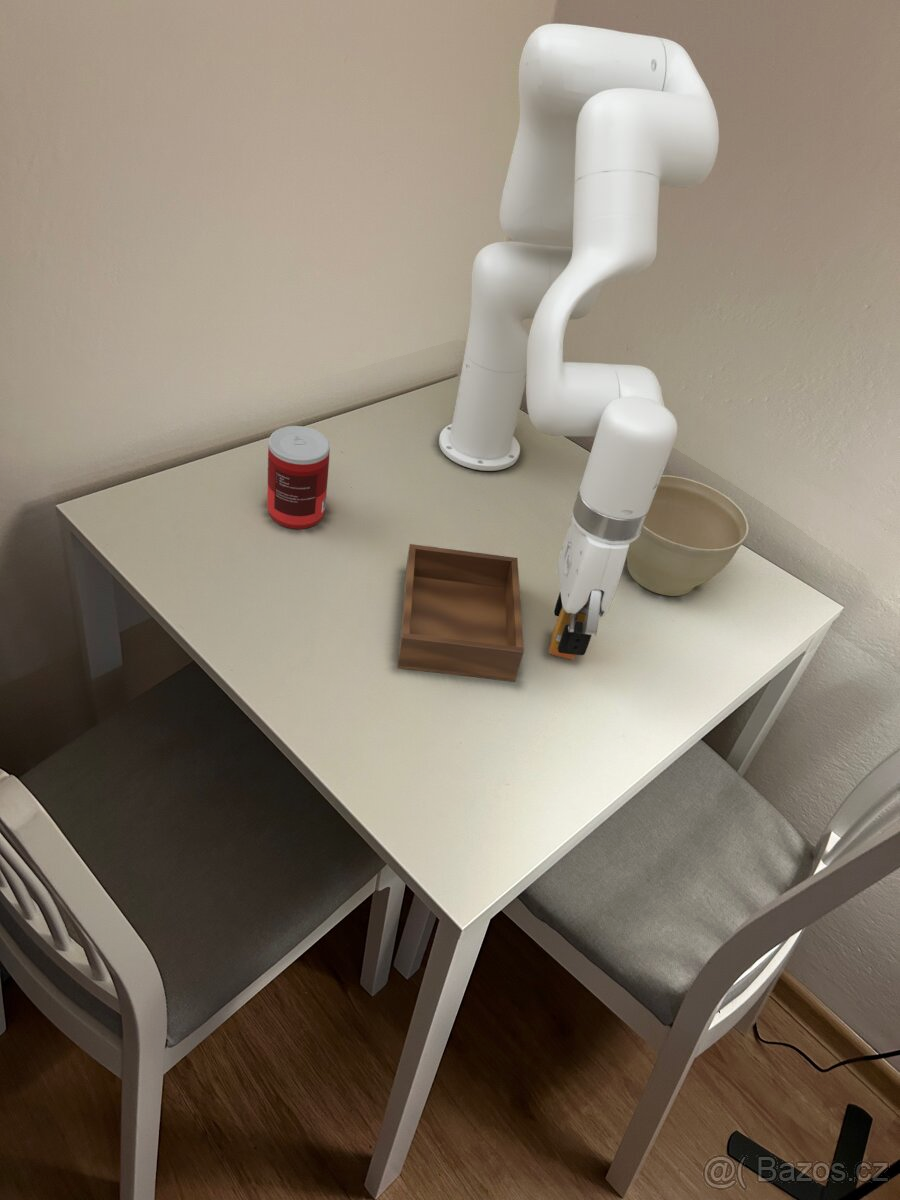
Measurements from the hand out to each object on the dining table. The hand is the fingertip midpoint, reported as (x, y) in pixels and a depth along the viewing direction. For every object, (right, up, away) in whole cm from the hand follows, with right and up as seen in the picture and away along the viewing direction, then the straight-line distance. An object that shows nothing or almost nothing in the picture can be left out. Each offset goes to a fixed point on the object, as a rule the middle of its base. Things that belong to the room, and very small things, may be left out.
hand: (568, 632), depth 106 cm
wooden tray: (-13, +1, +2) cm, 13 cm away
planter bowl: (+15, +7, +16) cm, 23 cm away
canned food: (-35, +16, +14) cm, 40 cm away
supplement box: (-1, -2, +2) cm, 3 cm away
